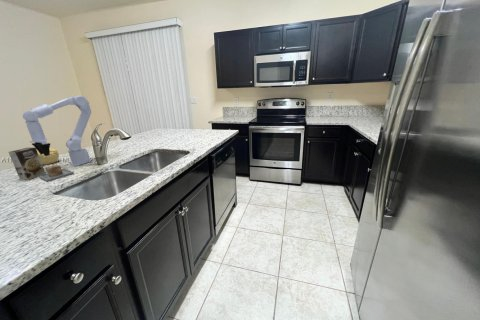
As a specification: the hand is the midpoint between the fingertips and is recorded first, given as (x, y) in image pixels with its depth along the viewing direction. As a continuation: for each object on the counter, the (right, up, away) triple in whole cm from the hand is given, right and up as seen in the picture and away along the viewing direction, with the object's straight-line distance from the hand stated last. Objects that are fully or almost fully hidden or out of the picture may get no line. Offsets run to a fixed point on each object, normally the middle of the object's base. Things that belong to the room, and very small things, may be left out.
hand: (45, 154), depth 120 cm
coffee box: (-1, -13, -6) cm, 14 cm away
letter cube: (+13, -11, -7) cm, 19 cm away
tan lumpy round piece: (-13, -5, +17) cm, 22 cm away
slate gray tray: (+13, -12, -6) cm, 19 cm away
